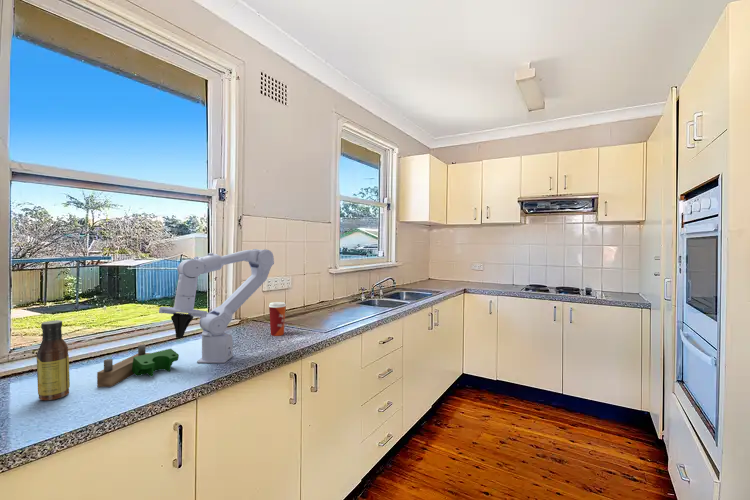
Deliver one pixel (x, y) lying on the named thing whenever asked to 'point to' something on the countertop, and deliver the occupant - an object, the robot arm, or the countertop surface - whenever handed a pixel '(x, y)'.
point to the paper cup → (277, 318)
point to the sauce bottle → (52, 363)
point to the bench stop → (117, 370)
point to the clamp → (154, 362)
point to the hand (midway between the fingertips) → (179, 337)
